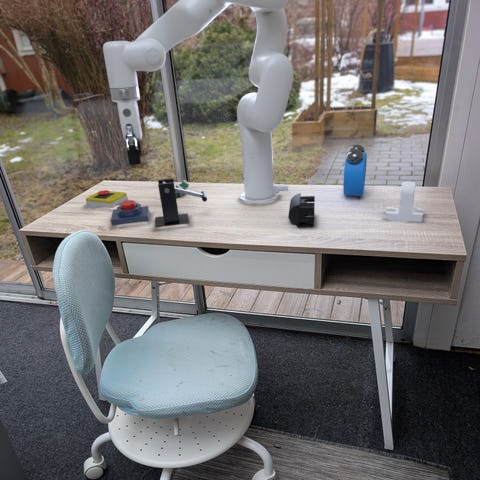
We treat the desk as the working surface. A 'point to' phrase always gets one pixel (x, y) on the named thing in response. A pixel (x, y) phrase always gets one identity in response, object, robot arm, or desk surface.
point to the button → (128, 205)
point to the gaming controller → (182, 187)
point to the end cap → (302, 211)
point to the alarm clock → (355, 171)
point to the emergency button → (105, 199)
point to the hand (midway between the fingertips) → (135, 159)
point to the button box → (130, 215)
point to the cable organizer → (405, 206)
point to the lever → (191, 193)
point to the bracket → (169, 205)
